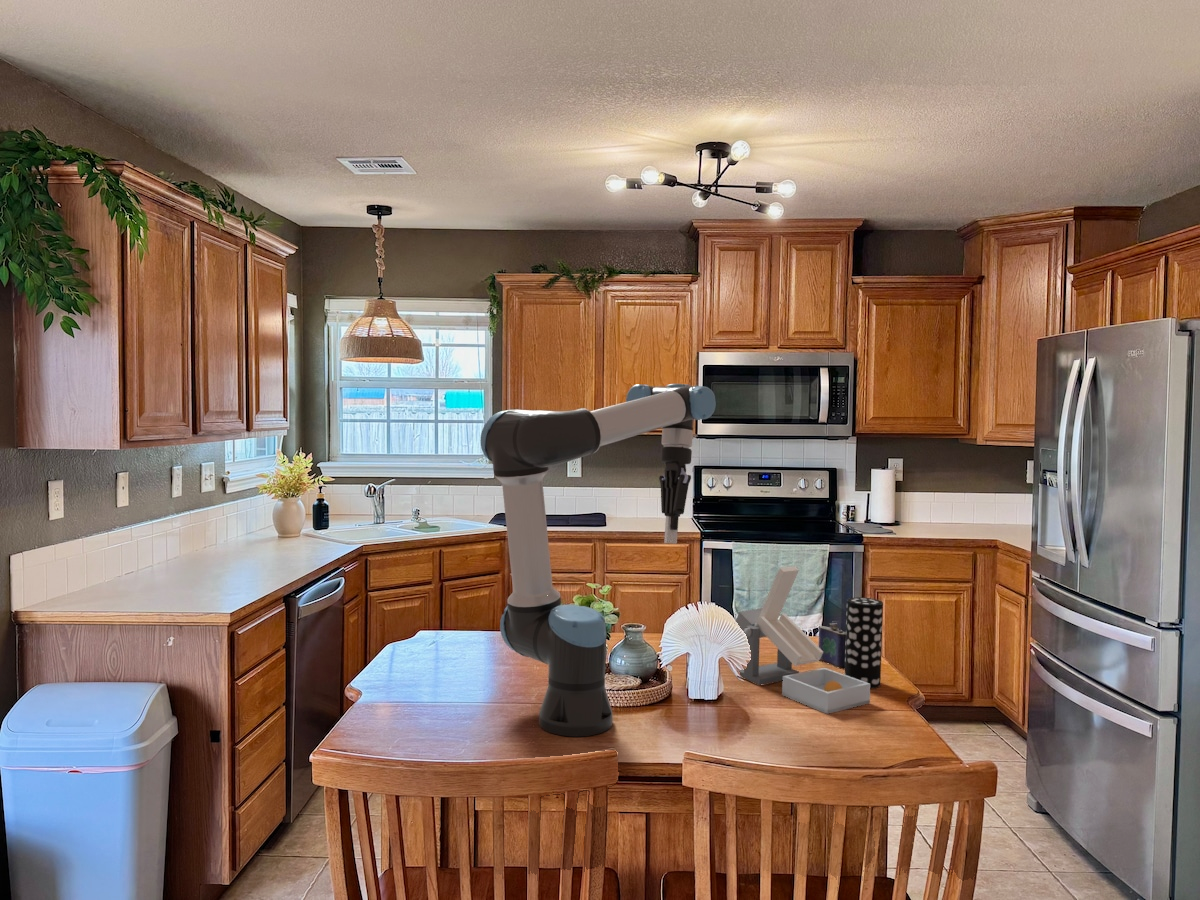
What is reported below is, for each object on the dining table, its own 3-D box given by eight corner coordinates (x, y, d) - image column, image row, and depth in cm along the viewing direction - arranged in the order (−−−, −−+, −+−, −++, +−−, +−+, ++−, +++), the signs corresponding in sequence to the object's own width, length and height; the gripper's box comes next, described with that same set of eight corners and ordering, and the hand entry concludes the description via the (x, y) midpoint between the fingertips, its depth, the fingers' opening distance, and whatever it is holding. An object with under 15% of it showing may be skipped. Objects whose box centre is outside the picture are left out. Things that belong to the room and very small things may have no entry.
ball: (835, 674, 191) (827, 685, 193) (826, 681, 188) (817, 692, 190) (849, 688, 189) (840, 699, 191) (839, 694, 186) (831, 705, 188)
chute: (811, 679, 201) (845, 606, 192) (785, 685, 196) (819, 610, 187) (757, 623, 216) (786, 553, 207) (732, 627, 212) (761, 556, 203)
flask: (815, 659, 223) (817, 619, 222) (824, 658, 224) (825, 618, 224) (841, 669, 215) (842, 627, 214) (849, 668, 216) (851, 626, 216)
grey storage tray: (869, 703, 189) (870, 683, 189) (827, 714, 182) (827, 693, 182) (823, 686, 201) (824, 667, 201) (782, 695, 194) (782, 676, 193)
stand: (801, 676, 208) (802, 624, 207) (756, 686, 200) (758, 632, 199) (777, 668, 214) (779, 617, 214) (734, 677, 207) (735, 624, 206)
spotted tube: (882, 690, 199) (885, 606, 198) (845, 687, 200) (848, 603, 200) (878, 679, 207) (880, 598, 206) (842, 676, 209) (845, 596, 208)
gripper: (702, 447, 203) (696, 545, 201) (678, 450, 215) (672, 543, 213) (674, 444, 201) (668, 543, 199) (651, 447, 213) (645, 541, 211)
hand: (670, 543), depth 206 cm, fingers closed
